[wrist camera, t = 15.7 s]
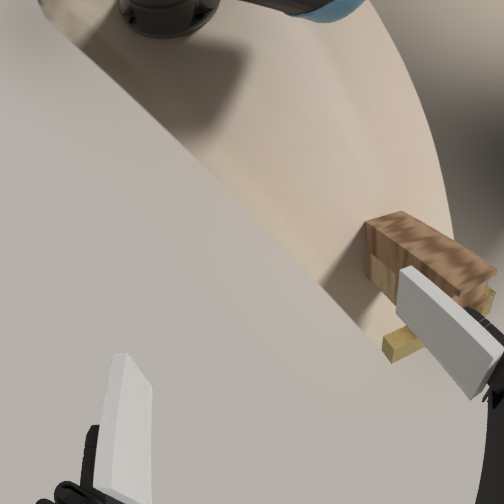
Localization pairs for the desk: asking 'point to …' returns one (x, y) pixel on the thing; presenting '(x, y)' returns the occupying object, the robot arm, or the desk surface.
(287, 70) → the desk surface
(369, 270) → the hinge block
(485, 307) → the golden wooden bar
